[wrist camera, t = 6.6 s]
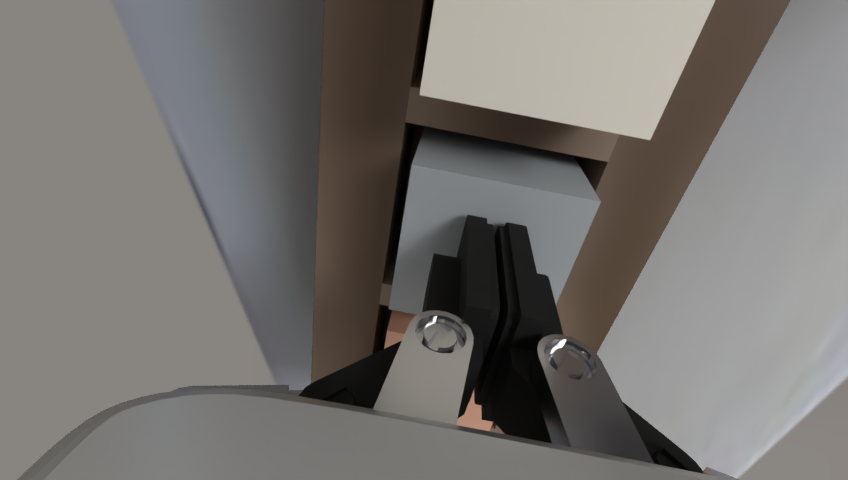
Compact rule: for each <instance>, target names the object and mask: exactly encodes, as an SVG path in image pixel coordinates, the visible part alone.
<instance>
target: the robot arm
mask: <svg viewBox="0 0 848 480" xmlns="http://www.w3.org/2000/svg"><path fill="white" fill-rule="evenodd" d="M473 391H474V402H475V404H476V405H481V412H482V420H486V421H491V422H494V423H495V424H496V425H497V426H498V427H499V428H500V429H501V431H500V433H495V432H490V431H485V430H480V429H475V428H470V427H464V426H459V425H456V423H457V419H458V418H460V417H461V416H463V415H464V414H465V411H466V409H467V406H468V403H469V402H470V399H471V396H472V394H473ZM18 480H739V479H736V478H734V477H731V476H729V475H726V474H723V473H721V472H718V471H716V470H713V469H711V468H708V467H707V468H706V469H705V470H704V471H702V470H701V468H700V467H699V466H698V464H697V463H696V462H695V461H694V460H693V459H692V458H691V457H690V456H688V455H687V454H686V453H685V452H684V451H683V450H681V449H680V448H679V447H678V446H677V445H675V444H674V443H673V442H672V441H670V440H669V439H668V438H667V437H665V436H664V435H663V434H662V433H660V432H659V431H658V430H657V429H655V428H654V427H653V426H652V425H650V424H649V423H648V422H647V421H646V420H644V419H643V418H642V417H641V416H639V415H638V414H637V413H636V412H634V411H633V410H632V409H631V408H629V407H628V406H627V405H626V404H624V403H623V402H622V400H621V398H620V396H619V394H618V392H617V390H616V388H615V386H614V384H613V383H612V381H611V379H610V377H609V375H608V373H607V371H606V369H605V367H604V365H603V363H602V361H601V360H600V358H599V357H598V355H597V354H596V353H595V352H594V351H593V350H592V349H591V348H590V347H589V346H587V345H586V344H584V343H583V342H581V341H580V340H577V339H575V338H573V337H570V336H566V335H564V334H563V331H562V327H561V323H560V319H559V315H558V311H557V307H556V304H555V300H554V296H553V292H552V288H551V284H550V280H549V278H548V276H547V275H544V274H538V273H537V270H536V266H535V261H534V257H533V252H532V248H531V243H530V239H529V235H528V230H527V227H526V226H524V225H519V224H514V223H509V222H507V223H506V224H505V226H504V227H503V226H498V227H497V230H496V233H495V236H494V227H493V224H488V223H487V218H483V217H478V216H473V215H467V218H466V221H465V225H464V229H463V233H462V237H461V241H460V245H459V249H458V253H457V257H452V256H447V255H442V254H436V253H434V254H433V258H432V263H431V268H430V272H429V277H428V282H427V287H426V292H425V298H424V303H423V310H422V313H419V314H418V315H416V316H415V317H413V319H412V320H411V322H410V323H409V325H408V328H407V330H406V332H405V335H404V337H403V339H402V341H400V342H398V343H395V344H393V345H391V346H389V347H387V348H385V349H383V350H381V351H378V352H376V353H374V354H372V355H370V356H368V357H366V358H363V359H361V360H359V361H357V362H355V363H353V364H351V365H348V366H346V367H344V368H342V369H340V370H338V371H336V372H334V373H331V374H329V375H327V376H325V377H323V378H321V379H319V380H316V381H315V382H313V383H312V384H310V385H308V386H307V387H306V388H305V389H304V390H289V385H239V386H189V387H183V388H178V389H176V390H174V391H171V392H167V393H159V394H154V395H149V396H145V397H141V398H137V399H134V400H130V401H127V402H123V403H120V404H118V405H116V406H114V407H111V408H109V409H106V410H104V411H102V412H100V413H98V414H97V415H95V416H93V417H92V418H90V419H88V420H86V421H85V422H84V423H82V424H81V425H80V426H78V427H77V428H75V429H74V430H73V431H71V432H70V433H69V434H67V435H66V436H65V437H64V438H63V439H61V440H60V441H59V442H58V443H57V444H55V445H54V446H53V447H52V448H51V449H50V450H49V451H48V452H46V453H45V454H44V455H43V456H42V457H41V458H40V459H39V460H38V461H37V462H35V463H34V464H33V465H32V466H31V467H30V468H29V469H28V470H27V471H26V472H25V473H24V474H23V475H22V476H21V477H20V478H19V479H18Z"/></svg>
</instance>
